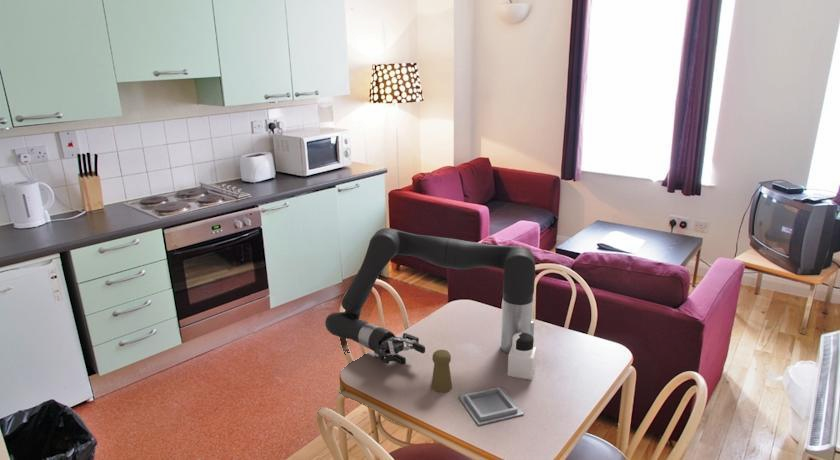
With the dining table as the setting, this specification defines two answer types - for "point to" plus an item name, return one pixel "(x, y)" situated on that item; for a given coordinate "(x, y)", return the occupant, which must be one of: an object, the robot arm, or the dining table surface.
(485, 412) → the grey flat square tray
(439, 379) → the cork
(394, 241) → the robot arm
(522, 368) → the medicine bottle
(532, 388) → the dining table surface
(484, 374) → the dining table surface
